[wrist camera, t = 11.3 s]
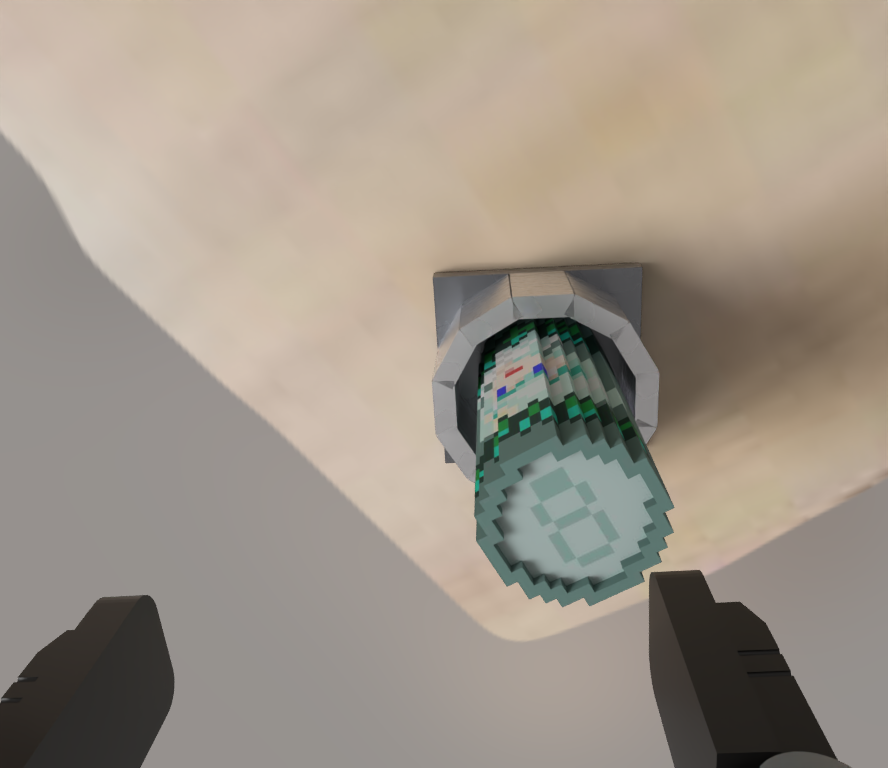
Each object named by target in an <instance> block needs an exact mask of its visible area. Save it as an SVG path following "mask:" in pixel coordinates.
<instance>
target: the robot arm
mask: <svg viewBox="0 0 888 768" xmlns="http://www.w3.org/2000/svg"><path fill="white" fill-rule="evenodd" d="M649 661H650V670H651V678H652V685H653V690H654V694H655V698H656V702H657V706H658V709H659V713H660V717H661V720H662V724H663V727H664V731H665V734H666V738H667V742H668V745H669V748H670V752H671V756H672V759H673V763H674V767H675V768H851V767H850V766H848V765H846V764H844V763H842V762H840V761H838V759H837V758H836V756H835V754H834V752H833V751H832V749H831V747H830V745H829V743H828V741H827V739H826V737H825V735H824V733H823V731H822V730H821V728H820V726H819V724H818V722H817V720H816V718H815V716H814V714H813V713H812V710H811V708H810V707H809V705H808V703H807V701H806V699H805V697H804V695H803V693H802V691H801V690H800V688H799V686H798V684H797V682H796V680H795V678H794V676H791V671H790V669H789V667H788V665H787V663H786V661H785V659H784V657H783V655H782V654H780V652H779V648H778V646H777V644H776V642H775V640H774V638H773V636H772V634H771V632H770V631H769V629H768V627H767V625H766V623H765V622H764V621H762V620H761V619H760V618H759V617H758V616H756V615H755V614H754V613H753V612H752V611H750V610H749V609H748V608H747V607H746V606H744V605H743V604H742V603H741V602H727V603H715V600H714V598H713V596H712V594H711V592H710V589H709V587H708V585H707V583H706V581H705V578H704V576H703V574H702V572H701V571H700V570H690V571H669V572H651V574H650V579H649ZM173 694H174V673H173V668H172V664H171V660H170V656H169V652H168V648H167V645H166V641H165V637H164V633H163V629H162V626H161V622H160V618H159V614H158V611H157V607H156V604H155V602H154V600H153V599H152V598H151V597H150V596H148V595H140V596H120V597H102V598H100V599H99V600H97V601H96V603H95V604H94V605H93V607H92V608H91V609H90V610H89V612H88V613H87V614H86V615H85V617H84V618H83V619H82V621H81V622H80V623H79V625H78V626H77V627H76V629H75V630H67V631H66V632H64V633H63V634H62V635H60V636H59V637H58V638H56V639H55V640H54V641H52V642H51V643H50V644H48V645H47V646H46V647H44V648H43V649H42V650H41V651H39V652H38V653H37V654H36V655H35V657H34V658H33V659H32V660H31V662H30V663H29V664H28V665H27V667H26V668H25V669H24V670H23V672H22V673H21V674H20V675H19V677H18V682H15V683H13V684H12V685H11V687H10V688H9V689H8V690H7V692H6V693H5V694H4V695H3V697H2V698H1V703H0V768H140V767H141V765H142V763H143V761H144V759H145V757H146V755H147V753H148V751H149V749H150V748H151V746H152V744H153V742H154V740H155V738H156V736H157V734H158V732H159V730H160V728H161V726H162V724H163V722H164V720H165V718H166V716H167V714H168V712H169V709H170V707H171V704H172V699H173Z"/></svg>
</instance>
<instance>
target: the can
mask: <svg viewBox="0 0 888 768" xmlns="http://www.w3.org/2000/svg"><path fill="white" fill-rule="evenodd" d="M673 508H674V505H673V503H672V501H671V499H670V497H669V494H668V492H667V490H666V488H665V485H664V483H663V481H662V479H661V477H660V474H659V472H658V470H657V468H656V466H655V463H654V461H653V459H652V457H651V454H650V452H649V450H648V448H647V446H646V443H645V441H644V439H643V437H642V434H641V432H640V430H639V428H638V426H637V423H636V421H635V419H634V417H633V414H632V412H631V410H630V408H629V406H628V403H627V401H626V399H625V397H624V395H623V392H622V390H621V388H620V386H619V383H618V381H617V379H616V377H615V375H614V372H613V370H612V368H611V366H610V363H609V361H608V359H607V357H606V355H605V353H604V351H603V350H602V348H601V346H600V344H599V342H598V341H597V339H596V337H595V335H594V333H593V332H592V330H591V328H589V327H587V326H585V325H581V326H579V324H578V322H577V321H576V320H574V319H572V318H570V317H557V318H536V319H518V320H517V321H515V322H513V323H512V324H510V325H508V326H507V327H505V328H503V329H502V330H500V331H498V332H497V333H495V337H494V338H492V339H490V340H489V341H487V342H485V343H484V352H483V353H481V363H479V367H478V403H477V439H476V476H475V512H474V517H475V518H476V520H477V529H476V541H477V543H478V544H479V546H480V547H481V549H482V550H483V552H484V553H485V555H486V556H487V558H488V559H489V561H490V562H491V564H492V565H493V567H494V568H495V570H496V571H497V573H498V574H499V576H500V577H501V579H502V580H503V582H504V583H505V585H506V586H509V585H512V584H514V583H516V582H518V583H519V585H520V586H521V588H522V589H523V591H524V592H525V594H526V595H527V597H528V598H529V599H532V598H534V597H536V596H538V595H541V597H542V598H543V600H544V601H545V603H548V602H550V601H552V600H554V599H557V600H558V601H559V603H560V605H561V606H562V607H564V606H566V605H569V604H571V603H573V602H575V601H577V600H580V599H582V598H585V600H586V602H587V603H588V605H589V606H592V605H594V604H596V603H598V602H600V601H603V600H605V599H607V598H609V597H611V596H614V595H616V594H618V593H620V592H622V591H625V590H627V589H629V588H631V587H634V586H636V585H638V584H640V583H642V582H645V581H644V578H643V575H642V572H641V571H643V570H645V569H648V568H650V567H652V566H654V565H656V564H659V563H661V562H662V561H661V558H660V556H659V553H658V552H659V551H661V550H663V549H665V548H668V547H667V544H666V542H665V539H664V537H665V536H668V535H670V534H672V533H674V532H673V529H672V527H671V525H670V522H669V520H668V517H667V515H666V513H665V512H666V511H669V510H671V509H673Z"/></svg>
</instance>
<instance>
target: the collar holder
mask: <svg viewBox="0 0 888 768" xmlns="http://www.w3.org/2000/svg"><path fill="white" fill-rule="evenodd" d="M433 286H434V301H435V316H436V331H437V345H438V352H437V357H436V363H435V368H434V374H433V379H432V388H433V402H434V416H435V430H436V436H437V438H438V439H439V440H440V442H441V443H442V445H443V446H444V448H445V463H456V464H457V465H458V467H459V468H460V470H461V471H462V472H463V474H464V475H465V477H466V478H467V479H468V480H470V481H472V482H474V483H475V476H476V439H477V403H478V367H479V363H481V353H483V352H484V343H485V342H487V341H489V340H490V339H492V338H494V337H495V333H497V332H498V331H500V330H502V329H503V328H505V327H507V326H508V325H510V324H512V323H513V322H515V321H517V320H518V319H536V318H557V317H570V318H572V319H574V320H576V321H577V322H578V324H579V326H581V325H585V326H587V327H589V328H591V330H592V332H593V333H594V335H595V337H596V339H597V341H598V342H599V344H600V346H601V348H602V350H603V351H604V353H605V355H606V357H607V359H608V361H609V363H610V366H611V368H612V370H613V372H614V375H615V377H616V379H617V381H618V383H619V386H620V388H621V390H622V392H623V395H624V397H625V399H626V401H627V403H628V406H629V408H630V410H631V412H632V414H633V417H634V419H635V421H636V423H637V426H638V428H639V430H640V432H641V434H642V437H643V439H644V441H645V443H646V444H647V442H648V441H649V439H650V438H651V436H652V435H653V433H654V432H655V430H656V429H657V428H656V427H657V422H658V395H659V370H658V368H657V367H656V365H655V363H654V362H653V360H652V358H651V357H650V355H649V353H648V352H647V350H646V348H645V347H644V345H643V343H642V342H641V340H640V335H641V299H642V266H641V265H640V264H639V263H623V264H603V265H583V266H563V267H543V268H523V269H503V270H483V271H463V272H443V273H434V275H433Z"/></svg>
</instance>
